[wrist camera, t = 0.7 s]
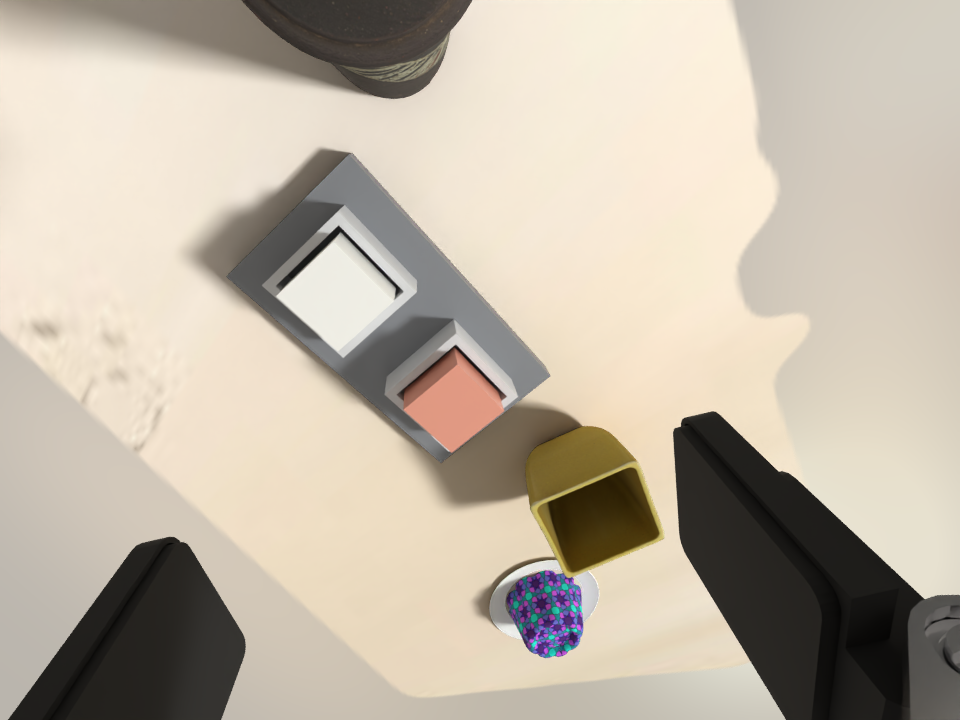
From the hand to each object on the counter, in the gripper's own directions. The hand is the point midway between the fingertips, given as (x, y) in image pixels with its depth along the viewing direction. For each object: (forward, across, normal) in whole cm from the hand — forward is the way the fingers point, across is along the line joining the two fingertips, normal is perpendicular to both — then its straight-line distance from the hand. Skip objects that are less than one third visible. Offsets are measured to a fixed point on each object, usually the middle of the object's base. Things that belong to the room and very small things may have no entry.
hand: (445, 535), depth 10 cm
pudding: (+31, -2, +40) cm, 51 cm away
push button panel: (+30, +4, +6) cm, 31 cm away
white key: (+26, +7, +1) cm, 27 cm away
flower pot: (+31, -7, +22) cm, 39 cm away
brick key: (+26, +1, +10) cm, 28 cm away
